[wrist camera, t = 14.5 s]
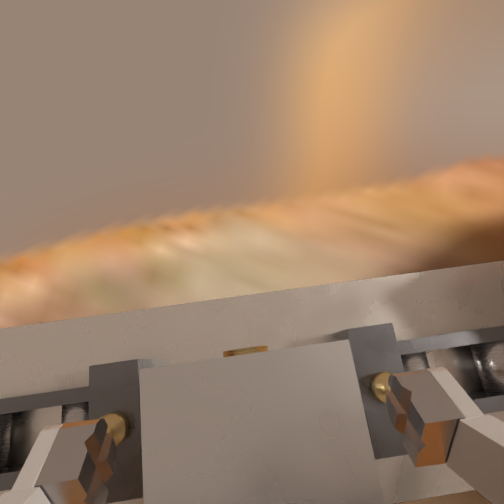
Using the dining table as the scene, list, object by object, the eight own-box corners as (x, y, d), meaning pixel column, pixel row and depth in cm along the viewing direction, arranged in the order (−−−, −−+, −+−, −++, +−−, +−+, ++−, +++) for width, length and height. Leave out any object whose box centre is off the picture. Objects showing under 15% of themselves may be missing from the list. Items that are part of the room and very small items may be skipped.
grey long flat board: (507, 261, 19) (564, 239, 15) (586, 466, 16) (679, 496, 12) (-55, 337, 17) (-129, 332, 14) (-88, 581, 14) (-192, 650, 11)
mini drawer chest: (296, 345, 17) (346, 330, 8) (313, 444, 15) (395, 551, 7) (196, 359, 16) (138, 361, 8) (204, 461, 15) (147, 594, 7)
